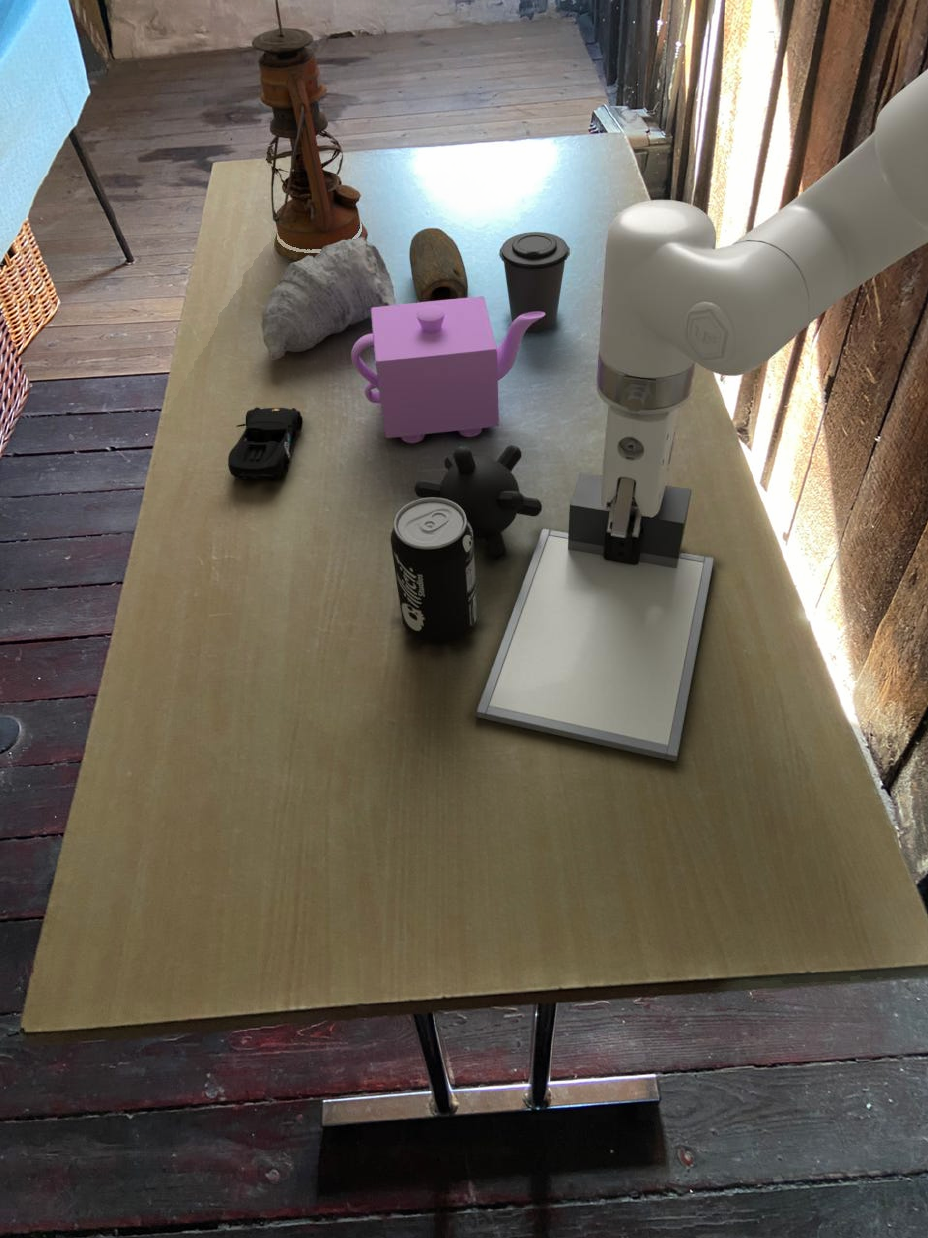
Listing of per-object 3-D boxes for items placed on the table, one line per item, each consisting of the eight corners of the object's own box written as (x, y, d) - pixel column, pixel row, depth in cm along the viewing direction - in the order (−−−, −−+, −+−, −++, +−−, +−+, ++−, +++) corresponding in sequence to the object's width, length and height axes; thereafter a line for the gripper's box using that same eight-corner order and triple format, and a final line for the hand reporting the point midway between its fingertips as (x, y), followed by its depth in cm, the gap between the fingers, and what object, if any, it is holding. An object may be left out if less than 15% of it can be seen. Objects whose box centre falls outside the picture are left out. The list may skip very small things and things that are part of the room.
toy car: (300, 412, 104) (293, 379, 101) (318, 479, 96) (311, 446, 93) (223, 427, 103) (214, 395, 99) (235, 496, 95) (225, 464, 92)
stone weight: (479, 323, 114) (477, 271, 109) (422, 331, 113) (418, 280, 108) (455, 263, 124) (452, 213, 119) (403, 271, 123) (398, 221, 118)
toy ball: (545, 566, 82) (411, 544, 80) (520, 564, 93) (400, 545, 91) (565, 445, 82) (429, 421, 80) (537, 457, 92) (417, 436, 90)
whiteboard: (712, 564, 85) (714, 557, 85) (676, 762, 72) (677, 756, 71) (542, 534, 89) (542, 527, 88) (476, 717, 75) (476, 711, 75)
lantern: (380, 258, 126) (348, -1, 103) (284, 276, 124) (231, 17, 101) (353, 204, 137) (320, -40, 114) (265, 220, 135) (213, -26, 112)
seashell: (269, 376, 109) (250, 297, 101) (266, 310, 118) (249, 233, 111) (406, 358, 110) (398, 278, 102) (392, 294, 119) (384, 217, 112)
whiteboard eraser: (683, 534, 87) (691, 489, 83) (676, 568, 84) (684, 523, 80) (578, 516, 89) (580, 472, 85) (567, 549, 86) (569, 505, 82)
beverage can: (387, 624, 82) (371, 524, 73) (439, 583, 85) (429, 482, 76) (441, 662, 79) (430, 563, 70) (493, 618, 82) (489, 517, 73)
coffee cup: (518, 346, 110) (518, 266, 103) (489, 313, 115) (487, 235, 108) (579, 328, 112) (583, 248, 105) (548, 296, 117) (549, 218, 110)
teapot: (363, 452, 98) (346, 348, 89) (359, 396, 105) (343, 293, 96) (551, 432, 99) (554, 326, 90) (535, 377, 106) (537, 273, 96)
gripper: (678, 444, 67) (652, 614, 80) (708, 319, 77) (680, 487, 91) (575, 430, 68) (566, 598, 82) (618, 308, 79) (604, 476, 93)
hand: (626, 538), depth 86 cm, fingers closed on whiteboard eraser, 4 cm apart
